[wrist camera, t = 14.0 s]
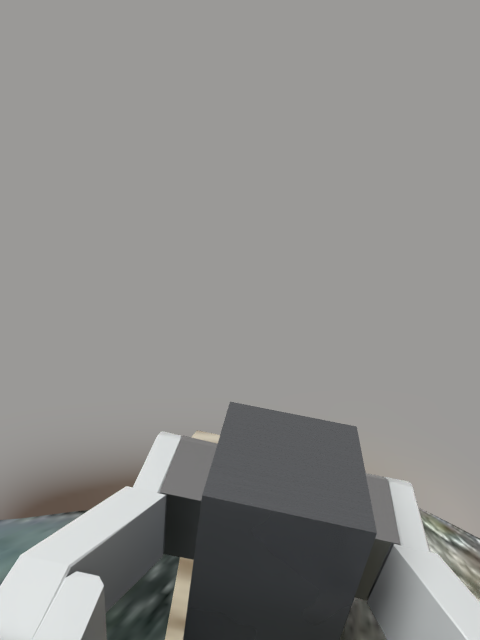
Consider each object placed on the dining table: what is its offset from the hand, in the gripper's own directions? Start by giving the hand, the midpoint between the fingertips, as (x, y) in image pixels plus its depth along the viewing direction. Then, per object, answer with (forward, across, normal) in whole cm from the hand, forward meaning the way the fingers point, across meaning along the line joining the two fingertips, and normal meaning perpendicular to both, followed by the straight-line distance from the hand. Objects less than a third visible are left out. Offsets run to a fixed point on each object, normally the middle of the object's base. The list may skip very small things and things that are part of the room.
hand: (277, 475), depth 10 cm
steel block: (-4, 0, -9) cm, 9 cm away
